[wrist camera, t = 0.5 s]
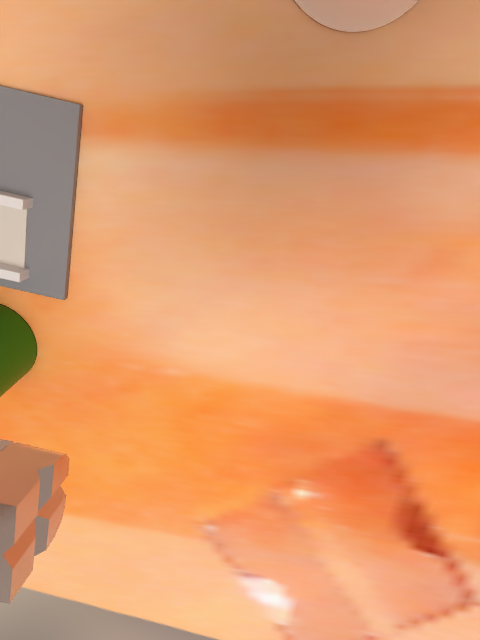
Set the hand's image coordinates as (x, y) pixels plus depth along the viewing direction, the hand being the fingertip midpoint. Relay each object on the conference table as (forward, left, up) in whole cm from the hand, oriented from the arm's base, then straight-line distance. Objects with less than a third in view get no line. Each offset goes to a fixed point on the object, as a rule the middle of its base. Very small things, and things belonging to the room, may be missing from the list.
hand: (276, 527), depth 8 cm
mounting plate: (+3, -28, -39) cm, 48 cm away
